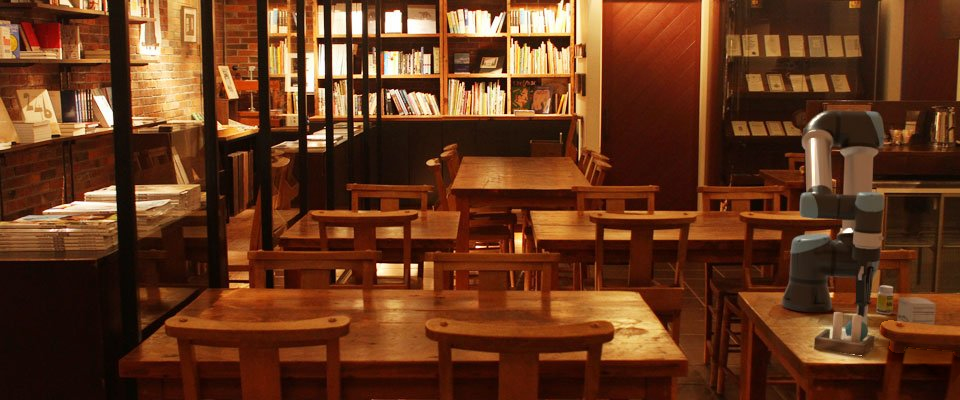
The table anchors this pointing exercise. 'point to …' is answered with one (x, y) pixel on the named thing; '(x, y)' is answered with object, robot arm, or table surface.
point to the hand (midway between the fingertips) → (861, 326)
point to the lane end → (842, 344)
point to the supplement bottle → (885, 300)
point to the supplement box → (916, 310)
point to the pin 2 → (856, 328)
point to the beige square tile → (861, 340)
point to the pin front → (847, 338)
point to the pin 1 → (837, 325)
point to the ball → (863, 330)
